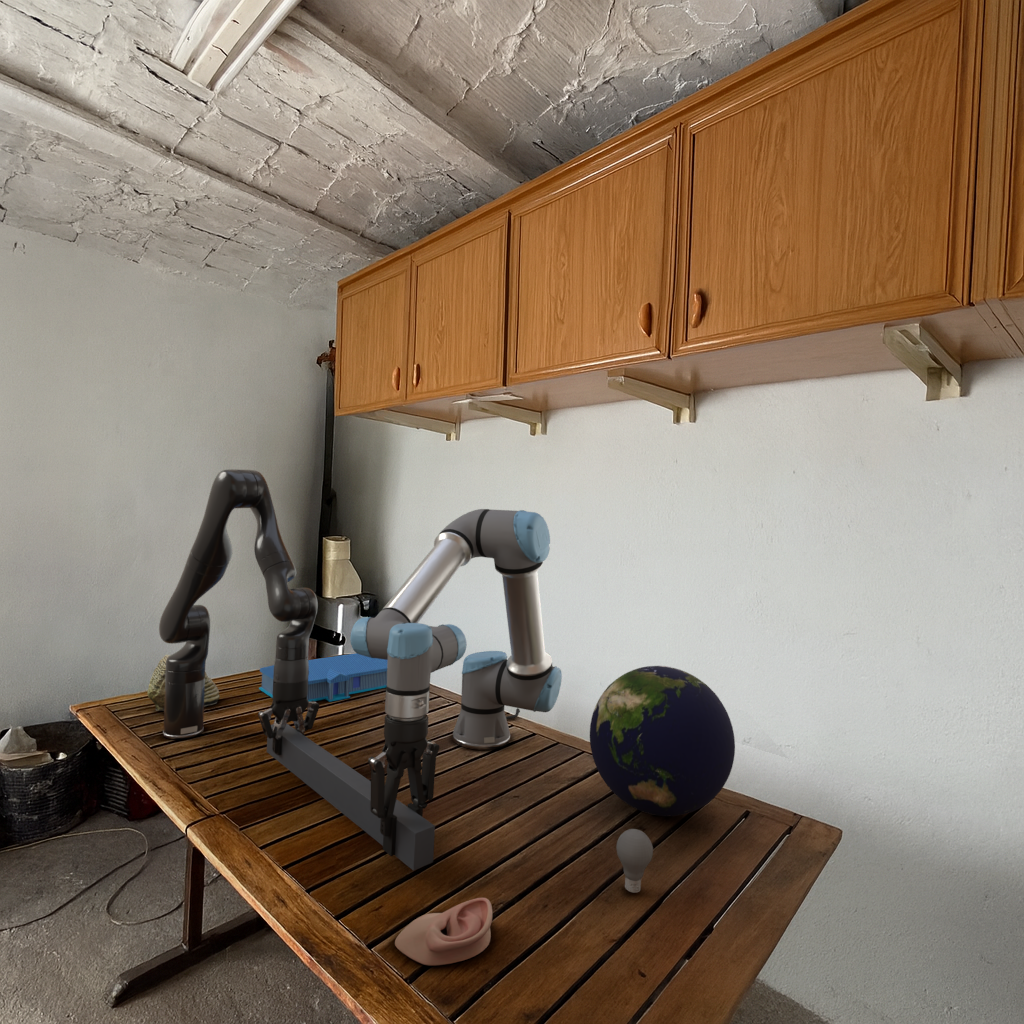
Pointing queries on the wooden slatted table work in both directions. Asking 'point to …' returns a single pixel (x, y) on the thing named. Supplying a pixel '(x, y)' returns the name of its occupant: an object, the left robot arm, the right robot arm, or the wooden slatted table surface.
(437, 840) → the wooden slatted table surface
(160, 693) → the fossil
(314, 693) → the model building
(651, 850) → the light bulb
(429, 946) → the anatomical model
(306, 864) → the wooden slatted table surface
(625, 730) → the globe
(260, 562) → the left robot arm
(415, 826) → the beam
